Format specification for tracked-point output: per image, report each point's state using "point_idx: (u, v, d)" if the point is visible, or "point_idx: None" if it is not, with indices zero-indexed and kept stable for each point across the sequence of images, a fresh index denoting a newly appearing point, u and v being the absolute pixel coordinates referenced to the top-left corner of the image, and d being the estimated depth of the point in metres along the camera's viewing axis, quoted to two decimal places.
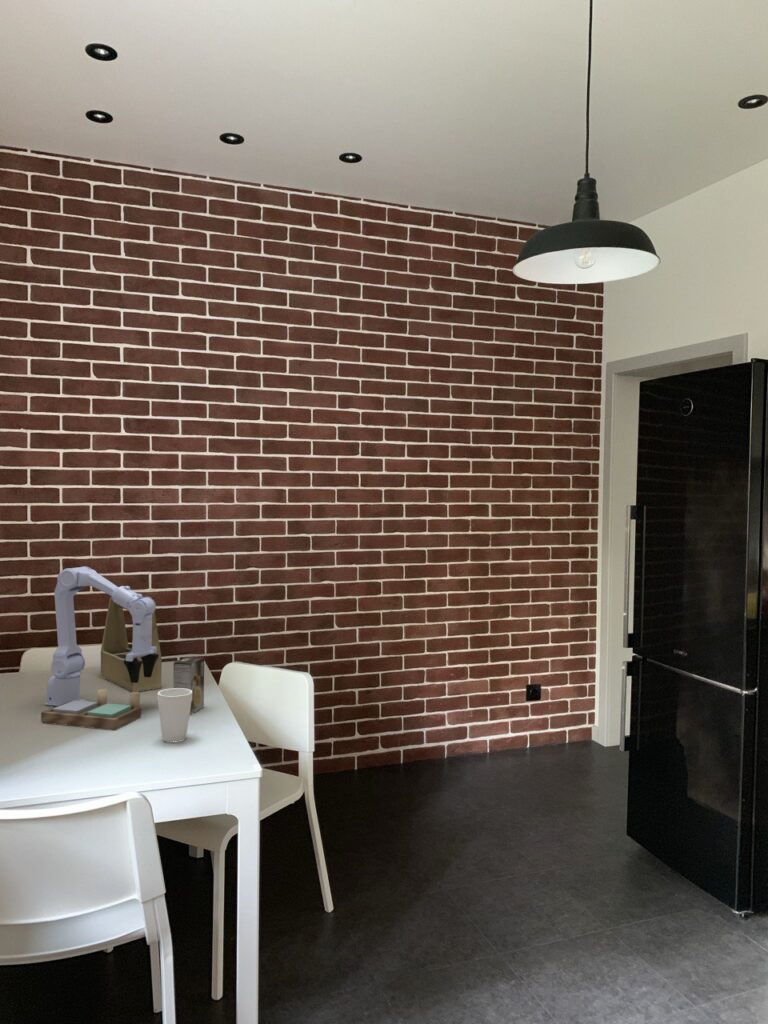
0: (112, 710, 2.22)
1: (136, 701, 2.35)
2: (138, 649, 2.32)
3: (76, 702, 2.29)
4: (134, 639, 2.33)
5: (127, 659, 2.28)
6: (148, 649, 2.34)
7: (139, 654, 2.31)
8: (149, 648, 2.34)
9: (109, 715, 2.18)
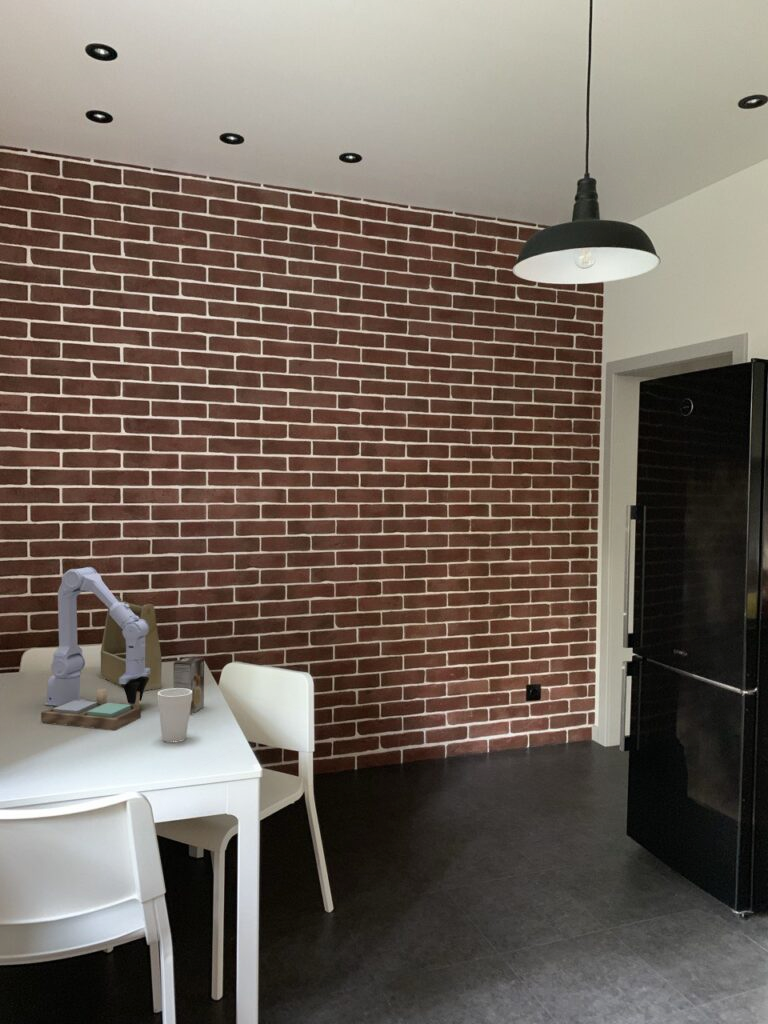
0: (112, 709, 2.21)
1: (136, 700, 2.35)
2: (131, 671, 2.33)
3: (76, 702, 2.29)
4: (127, 662, 2.34)
5: (120, 682, 2.29)
6: (141, 671, 2.35)
7: (132, 677, 2.32)
8: (142, 670, 2.35)
9: (109, 714, 2.18)
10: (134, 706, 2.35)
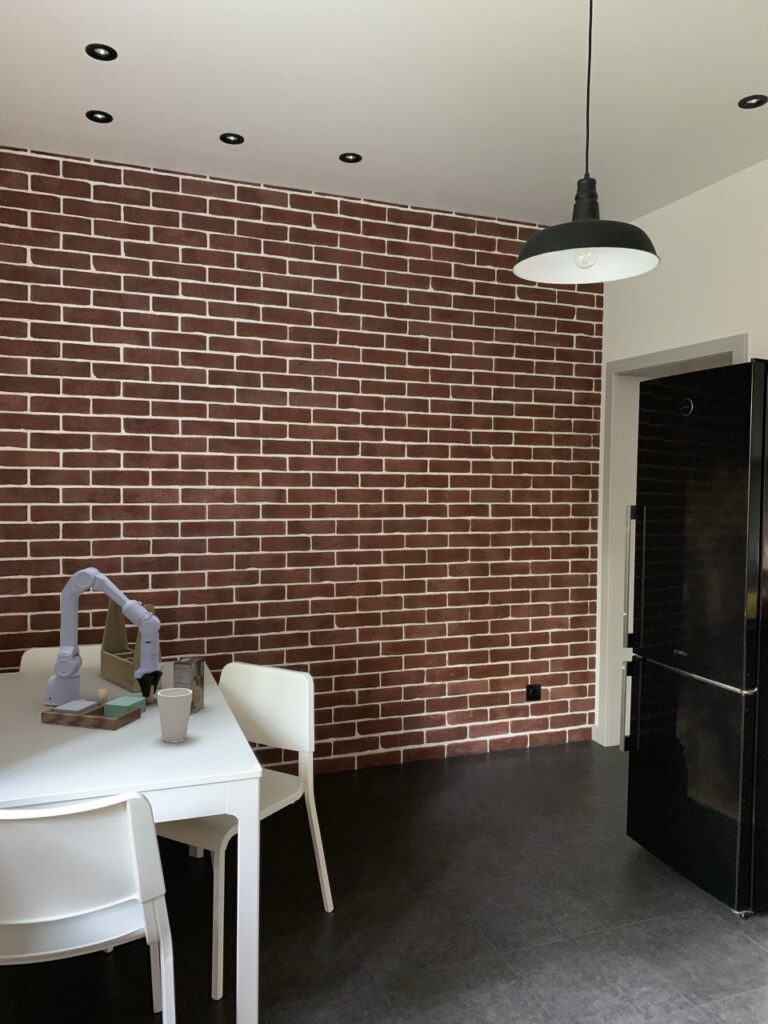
0: (128, 702, 2.30)
1: (150, 694, 2.43)
2: (146, 666, 2.41)
3: (76, 702, 2.30)
4: (142, 656, 2.42)
5: (135, 676, 2.37)
6: (155, 666, 2.43)
7: (147, 671, 2.40)
8: (156, 665, 2.43)
9: (125, 707, 2.26)
10: (148, 699, 2.43)
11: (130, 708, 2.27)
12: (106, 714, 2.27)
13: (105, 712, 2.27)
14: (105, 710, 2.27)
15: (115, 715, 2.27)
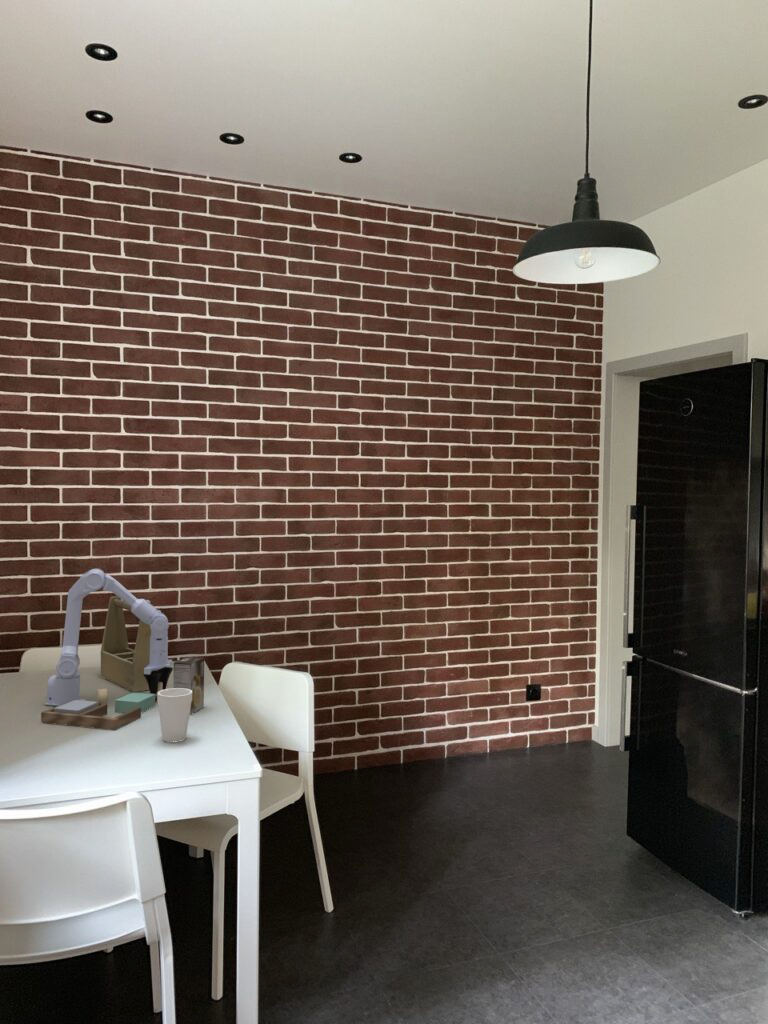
0: (138, 698, 2.35)
1: (159, 690, 2.49)
2: (155, 662, 2.47)
3: (77, 702, 2.30)
4: (151, 653, 2.47)
5: (145, 672, 2.43)
6: (164, 662, 2.49)
7: (156, 667, 2.45)
8: (165, 661, 2.49)
9: (135, 703, 2.31)
10: None
11: (140, 704, 2.33)
12: (117, 710, 2.33)
13: (116, 708, 2.33)
14: (116, 706, 2.33)
15: (126, 711, 2.32)
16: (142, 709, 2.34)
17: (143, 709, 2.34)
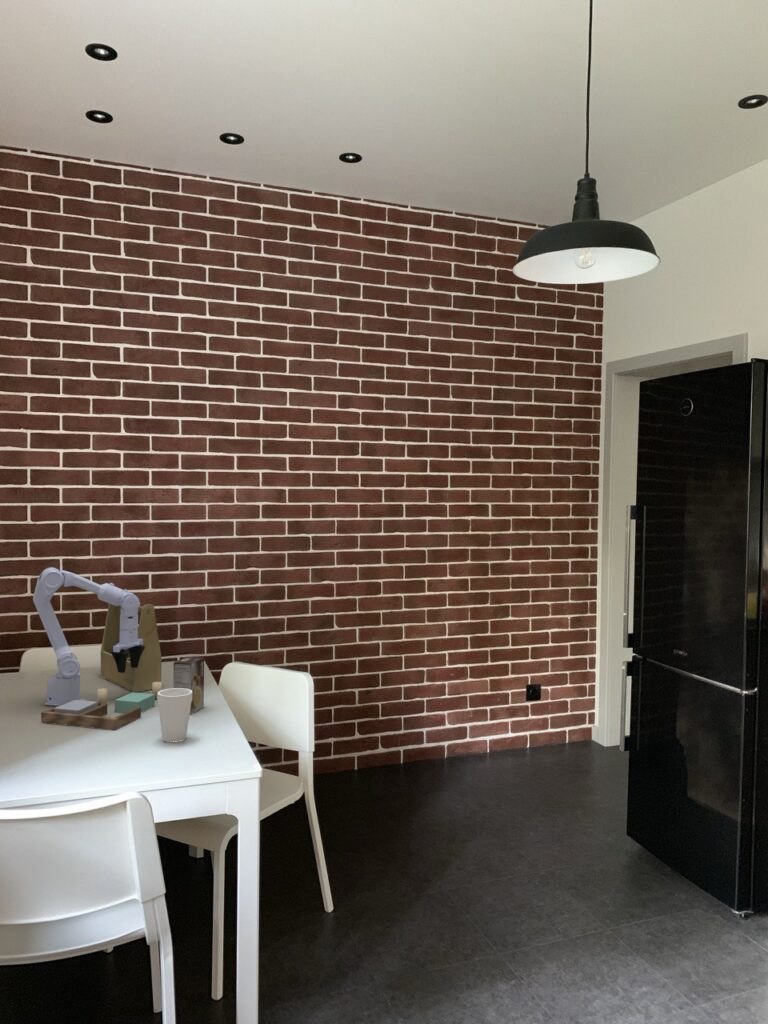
0: (138, 698, 2.35)
1: (158, 690, 2.49)
2: (125, 641, 2.47)
3: (77, 701, 2.30)
4: (121, 631, 2.47)
5: (114, 650, 2.43)
6: (134, 641, 2.48)
7: (126, 645, 2.45)
8: (135, 640, 2.49)
9: (136, 703, 2.31)
10: None
11: (140, 704, 2.33)
12: (117, 710, 2.33)
13: (116, 708, 2.33)
14: (116, 706, 2.33)
15: (126, 711, 2.32)
16: (142, 709, 2.34)
17: (143, 709, 2.34)
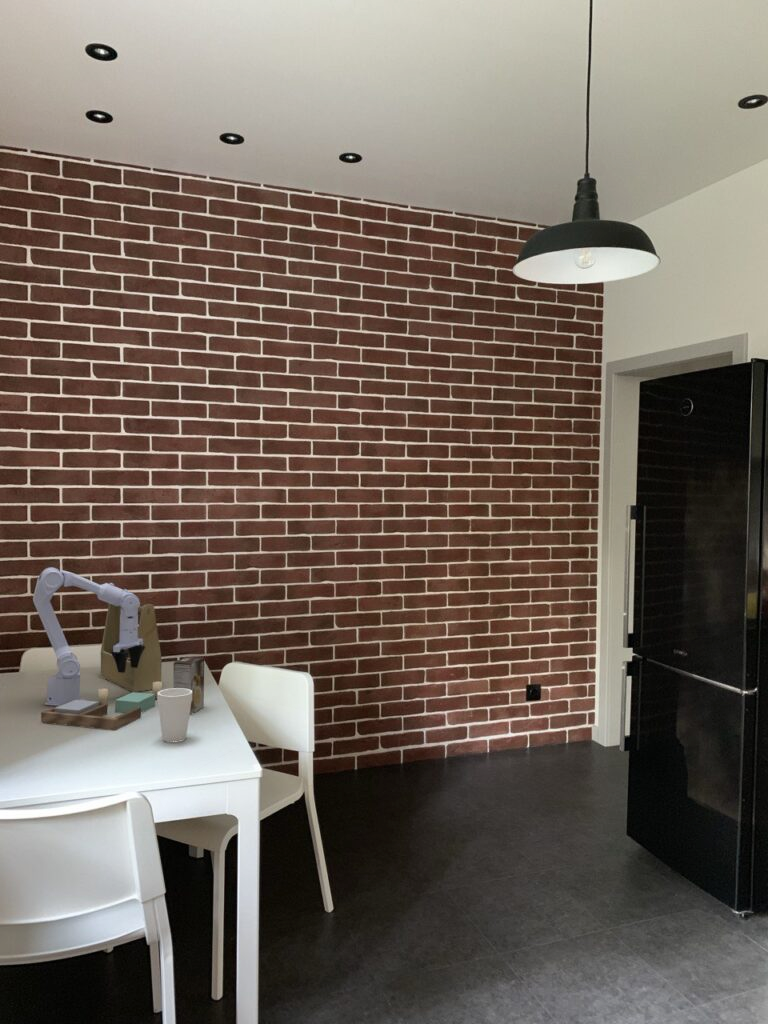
0: (138, 698, 2.35)
1: (159, 690, 2.49)
2: (125, 640, 2.47)
3: (77, 701, 2.30)
4: (121, 631, 2.47)
5: (114, 650, 2.43)
6: (134, 641, 2.48)
7: (126, 645, 2.45)
8: (135, 640, 2.49)
9: (136, 703, 2.31)
10: None
11: (141, 704, 2.33)
12: (117, 710, 2.33)
13: (116, 708, 2.33)
14: (116, 706, 2.33)
15: (126, 711, 2.32)
16: (142, 709, 2.34)
17: (143, 709, 2.34)
